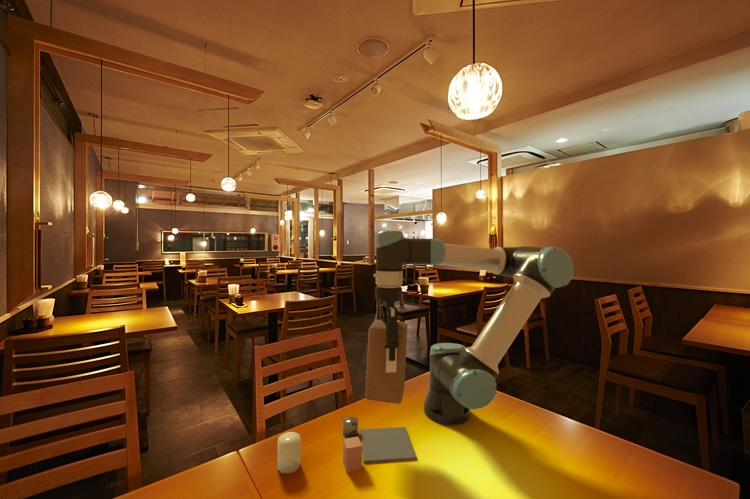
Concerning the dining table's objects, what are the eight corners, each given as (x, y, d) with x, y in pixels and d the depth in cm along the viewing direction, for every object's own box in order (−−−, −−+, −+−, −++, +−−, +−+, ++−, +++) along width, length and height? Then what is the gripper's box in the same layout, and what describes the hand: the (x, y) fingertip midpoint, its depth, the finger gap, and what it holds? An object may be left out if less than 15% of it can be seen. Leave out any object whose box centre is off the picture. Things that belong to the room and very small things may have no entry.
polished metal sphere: (357, 429, 98) (357, 416, 97) (358, 437, 93) (358, 424, 93) (342, 429, 97) (342, 416, 97) (343, 438, 93) (343, 425, 93)
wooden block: (401, 405, 84) (405, 330, 84) (364, 400, 86) (368, 327, 85) (404, 388, 94) (408, 321, 94) (371, 384, 96) (374, 318, 95)
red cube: (357, 459, 84) (358, 436, 84) (361, 469, 80) (362, 445, 80) (342, 461, 83) (343, 438, 83) (346, 472, 79) (346, 448, 79)
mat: (405, 428, 98) (405, 426, 98) (416, 459, 84) (416, 457, 84) (359, 431, 96) (359, 429, 96) (363, 463, 82) (363, 460, 82)
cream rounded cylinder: (301, 457, 84) (301, 431, 84) (298, 472, 79) (299, 444, 78) (279, 459, 83) (279, 432, 83) (275, 474, 78) (275, 446, 78)
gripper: (370, 280, 101) (369, 349, 101) (381, 292, 77) (379, 381, 78) (394, 280, 102) (392, 349, 102) (411, 292, 78) (410, 380, 78)
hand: (387, 363), depth 90 cm, fingers closed on wooden block, 11 cm apart
